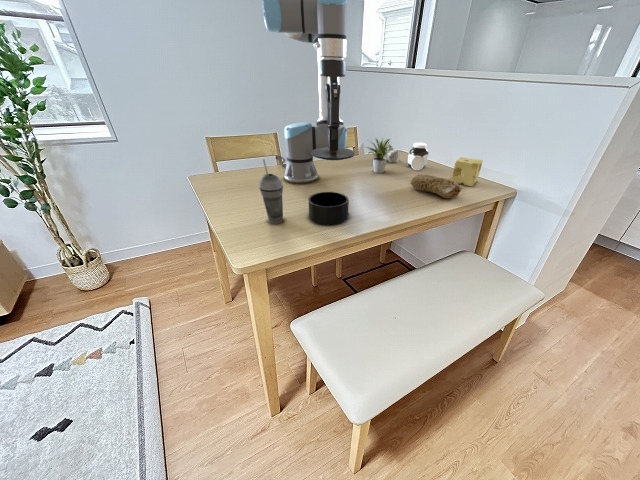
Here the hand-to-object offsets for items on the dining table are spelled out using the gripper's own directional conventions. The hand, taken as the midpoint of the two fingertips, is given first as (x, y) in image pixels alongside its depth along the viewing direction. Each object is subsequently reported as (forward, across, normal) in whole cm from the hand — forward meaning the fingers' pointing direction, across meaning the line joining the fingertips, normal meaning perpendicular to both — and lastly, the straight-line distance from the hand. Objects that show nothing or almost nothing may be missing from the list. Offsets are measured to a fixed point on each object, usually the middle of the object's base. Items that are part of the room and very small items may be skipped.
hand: (333, 148), depth 90 cm
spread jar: (+22, -48, +51) cm, 74 cm away
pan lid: (+2, 0, 0) cm, 2 cm away
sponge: (+22, -12, +44) cm, 51 cm away
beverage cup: (+21, +7, -20) cm, 30 cm away
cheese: (+22, -24, +65) cm, 73 cm away
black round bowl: (+21, +6, -2) cm, 22 cm away
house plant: (+22, -45, +29) cm, 58 cm away
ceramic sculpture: (+22, -63, +39) cm, 78 cm away
